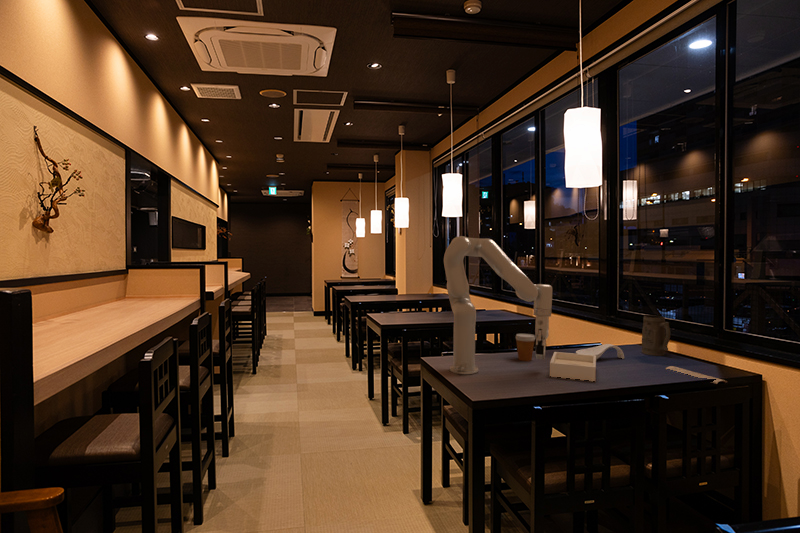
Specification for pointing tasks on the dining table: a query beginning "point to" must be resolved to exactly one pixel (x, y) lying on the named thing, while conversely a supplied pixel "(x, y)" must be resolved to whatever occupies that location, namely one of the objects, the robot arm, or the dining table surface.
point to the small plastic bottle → (544, 350)
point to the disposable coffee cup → (525, 346)
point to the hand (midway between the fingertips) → (540, 352)
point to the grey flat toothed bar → (694, 374)
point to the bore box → (573, 366)
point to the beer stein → (655, 335)
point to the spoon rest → (600, 351)
